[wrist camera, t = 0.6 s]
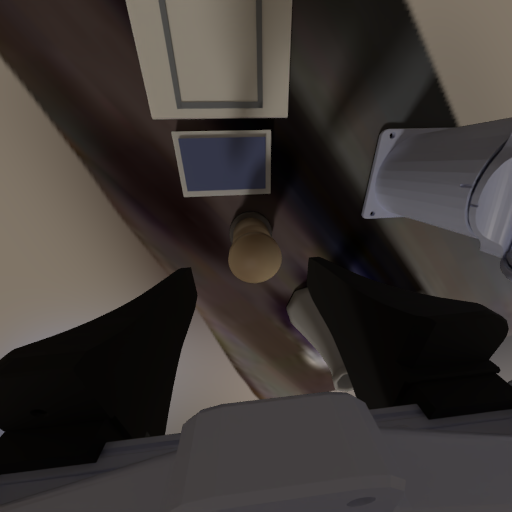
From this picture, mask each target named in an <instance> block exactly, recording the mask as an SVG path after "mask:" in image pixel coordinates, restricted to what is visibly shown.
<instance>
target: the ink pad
mask: <svg viewBox="0 0 512 512" xmlns="http://www.w3.org/2000/svg"><path fill="white" fill-rule="evenodd" d="M172 138H173V143H174V148H175V153H176V159H177V164H178V169H179V174H180V179H181V185H182V190H183V195H184V197H197V196H223V195H248V194H271V130H240V131H183V132H172Z"/></svg>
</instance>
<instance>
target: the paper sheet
mask: <svg viewBox="0 0 512 512" xmlns="http://www.w3.org/2000/svg"><path fill="white" fill-rule="evenodd" d="M126 4H127V9H128V13H129V18H130V22H131V26H132V31H133V35H134V40H135V44H136V49H137V53H138V58H139V62H140V67H141V71H142V75H143V80H144V84H145V89H146V93H147V98H148V102H149V107H150V111H151V116H152V119H225V118H287V117H288V94H289V69H290V44H291V19H292V0H126Z"/></svg>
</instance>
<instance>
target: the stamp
mask: <svg viewBox="0 0 512 512" xmlns="http://www.w3.org/2000/svg"><path fill="white" fill-rule="evenodd" d="M229 234H230V240H231V243H232V245H231V248H230V251H229V259H228V260H229V266H230V269H231V271H232V272H233V274H234V275H235V276H236V277H237V278H239V279H240V280H242V281H245V282H249V283H259V282H263V281H266V280H268V279H270V278H271V277H272V276H274V275H275V274H276V272H277V271H278V270H279V268H280V265H281V261H282V255H281V251H280V249H279V247H278V245H277V243H276V242H275V240H274V239H273V238H272V229H271V226H270V224H269V222H268V220H267V219H266V218H265V217H264V216H263V215H262V214H260V213H257V212H253V211H248V212H244V213H241V214H239V215H238V216H237V217H236V218H235V219H234V220H233V222H232V224H231V227H230V233H229Z"/></svg>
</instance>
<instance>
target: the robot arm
mask: <svg viewBox="0 0 512 512" xmlns="http://www.w3.org/2000/svg"><path fill="white" fill-rule="evenodd" d="M391 133H392V137H391V139H390V134H391ZM371 212H373V213H372V215H370V214H371ZM362 217H363V218H366V219H368V218H389V217H407V218H411V219H414V220H417V221H421V222H424V223H427V224H431V225H434V226H437V227H440V228H444V229H447V230H450V231H454V232H457V233H460V234H464V235H467V236H470V237H473V238H477V239H479V240H480V243H481V246H480V251H483V252H486V253H489V254H491V255H494V256H497V257H500V258H501V261H500V268H501V271H502V273H503V274H504V275H505V276H506V278H508V279H509V280H510V281H511V282H512V118H507V119H501V120H495V121H490V122H484V123H479V124H473V125H467V126H462V127H456V128H407V129H386V130H383V131H382V132H381V133H380V135H379V139H378V144H377V148H376V153H375V157H374V161H373V166H372V170H371V175H370V179H369V183H368V188H367V192H366V197H365V201H364V206H363V210H362ZM307 288H308V290H309V293H310V296H311V298H312V300H313V302H314V304H315V306H316V307H317V309H318V311H319V313H320V315H321V316H322V318H323V320H324V322H325V323H326V325H327V327H328V329H329V331H330V333H331V335H332V337H333V339H334V341H335V344H336V346H337V348H338V351H339V353H340V356H341V358H342V361H343V363H344V365H345V368H346V370H347V373H348V376H349V379H350V381H351V384H352V387H353V389H354V392H355V395H356V397H354V396H352V395H350V394H348V393H342V392H321V393H313V394H304V395H296V396H287V397H279V398H270V399H262V400H255V401H245V402H237V403H228V404H221V405H218V406H214V407H210V408H207V409H203V410H201V411H200V412H199V413H197V414H196V415H194V416H193V417H192V418H190V419H189V420H188V421H187V422H186V423H185V424H183V427H182V431H181V433H178V434H170V435H165V431H166V425H167V418H168V412H169V407H170V401H171V396H172V390H173V385H174V380H175V376H176V371H177V366H178V362H179V358H180V353H181V349H182V346H183V342H184V340H185V337H186V334H187V331H188V328H189V325H190V322H191V319H192V316H193V313H194V310H195V306H196V301H197V291H196V287H195V283H194V278H193V274H192V270H191V267H190V268H180V269H178V270H177V271H175V272H174V273H172V274H171V275H169V276H168V277H167V278H165V279H164V280H163V281H161V282H160V283H158V284H157V285H155V286H154V287H152V288H151V289H149V290H148V291H146V292H145V293H144V294H142V295H140V296H139V297H137V298H135V299H134V300H132V301H130V302H128V303H126V304H125V305H123V306H121V307H119V308H117V309H115V310H113V311H111V312H109V313H107V314H105V315H103V316H101V317H98V318H96V319H94V320H92V321H90V322H87V323H85V324H82V325H80V326H78V327H75V328H73V329H70V330H68V331H65V332H63V333H60V334H57V335H55V336H52V337H49V338H46V339H43V340H40V341H37V342H34V343H31V344H28V345H25V346H23V347H19V348H16V349H14V350H12V351H11V352H9V353H8V354H7V355H5V356H4V357H3V358H2V359H1V360H0V429H1V430H3V431H5V432H4V433H3V435H2V436H1V437H0V512H512V380H511V381H509V382H508V383H507V382H506V381H504V380H503V379H502V378H501V377H500V376H498V375H497V374H496V373H499V372H500V368H499V367H498V366H496V365H495V364H494V363H493V362H491V361H490V360H489V359H490V357H491V356H492V355H493V354H494V352H495V351H496V350H497V348H498V347H499V346H500V345H501V343H502V342H503V341H504V339H505V337H506V336H507V333H508V324H507V320H506V319H504V318H503V317H502V316H501V315H499V314H497V313H495V312H494V311H492V310H490V309H488V308H487V307H485V306H483V305H481V304H478V303H473V302H466V301H460V300H453V299H446V298H440V297H435V296H430V295H425V294H420V293H416V292H411V291H407V290H403V289H400V288H396V287H392V286H389V285H386V284H382V283H379V282H377V281H374V280H371V279H368V278H365V277H363V276H360V275H358V274H356V273H353V272H351V271H349V270H347V269H344V268H342V267H340V266H338V265H336V264H334V263H332V262H330V261H328V260H325V259H323V258H321V257H311V258H309V262H308V274H307Z"/></svg>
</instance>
